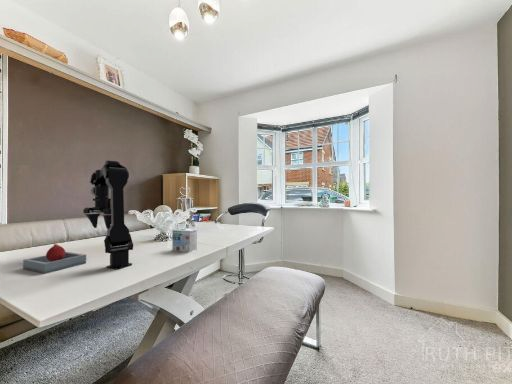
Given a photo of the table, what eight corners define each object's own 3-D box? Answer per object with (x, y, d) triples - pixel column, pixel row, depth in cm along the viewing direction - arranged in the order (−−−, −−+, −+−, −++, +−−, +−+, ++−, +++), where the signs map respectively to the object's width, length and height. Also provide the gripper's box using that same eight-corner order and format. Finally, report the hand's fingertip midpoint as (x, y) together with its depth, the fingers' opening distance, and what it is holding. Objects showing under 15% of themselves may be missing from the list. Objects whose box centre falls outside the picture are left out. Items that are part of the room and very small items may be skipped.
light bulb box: (171, 250, 117) (171, 229, 117) (179, 248, 123) (179, 227, 123) (190, 252, 114) (190, 230, 114) (197, 249, 120) (197, 228, 120)
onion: (69, 261, 94) (69, 242, 94) (54, 266, 88) (54, 245, 88) (57, 261, 95) (57, 241, 95) (42, 265, 89) (42, 244, 89)
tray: (85, 263, 95) (86, 254, 95) (44, 273, 82) (44, 264, 82) (64, 259, 101) (65, 251, 101) (23, 269, 88) (23, 259, 88)
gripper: (130, 196, 117) (129, 227, 117) (105, 196, 124) (104, 225, 124) (109, 196, 107) (108, 230, 106) (82, 196, 113) (82, 228, 113)
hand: (101, 228), depth 113 cm, fingers open, 9 cm apart
